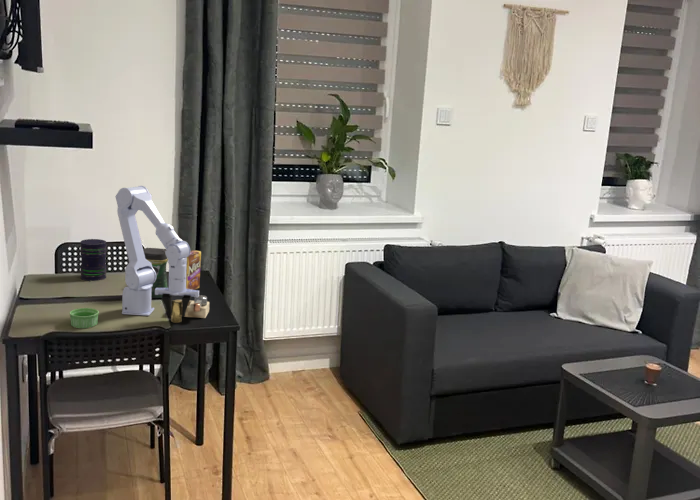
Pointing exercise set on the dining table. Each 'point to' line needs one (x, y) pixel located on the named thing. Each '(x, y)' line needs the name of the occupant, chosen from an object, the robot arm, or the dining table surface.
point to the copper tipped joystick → (199, 302)
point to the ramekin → (84, 317)
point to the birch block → (200, 314)
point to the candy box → (193, 270)
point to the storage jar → (93, 259)
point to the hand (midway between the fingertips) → (176, 315)
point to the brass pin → (176, 311)
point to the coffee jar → (157, 268)
